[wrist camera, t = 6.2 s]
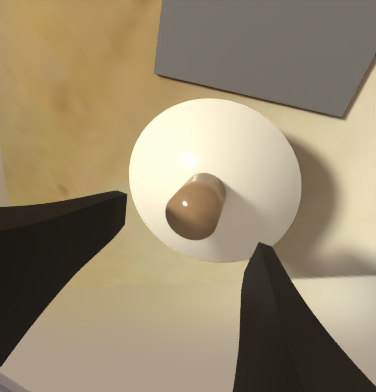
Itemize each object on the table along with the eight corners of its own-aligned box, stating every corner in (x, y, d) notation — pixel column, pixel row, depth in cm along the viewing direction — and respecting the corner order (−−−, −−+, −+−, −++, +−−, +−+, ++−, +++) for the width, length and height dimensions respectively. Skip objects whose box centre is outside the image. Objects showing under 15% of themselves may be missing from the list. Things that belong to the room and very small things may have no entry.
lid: (338, 124, 11) (378, 133, 7) (260, 278, 16) (261, 326, 13) (139, 81, 13) (95, 71, 10) (129, 229, 19) (98, 258, 15)
